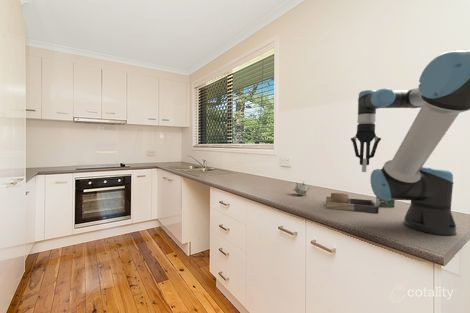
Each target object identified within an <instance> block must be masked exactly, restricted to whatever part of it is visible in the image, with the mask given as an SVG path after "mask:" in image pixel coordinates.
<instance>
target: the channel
mask: <svg viewBox="0 0 470 313" xmlns="http://www.w3.org/2000/svg"><path fill="white" fill-rule="evenodd" d="M325 202H326V209H332V210H343V211H352V212H362V213H369V214H379V210H380V209H379V208H380V207H378V206H377V205H376V202H374V200H373V199H362V198H361V199H360V198H351V197H348V204H346V203H336V202H331V196H328V195H327V196H326V197H325Z"/></svg>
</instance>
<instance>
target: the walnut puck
mask: <svg viewBox="0 0 470 313" xmlns="http://www.w3.org/2000/svg"><path fill="white" fill-rule="evenodd" d="M330 197H331V202H336V203H346V204H348V198H349V194H347V193H343V192H331V193H330Z"/></svg>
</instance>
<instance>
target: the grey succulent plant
mask: <svg viewBox="0 0 470 313" xmlns="http://www.w3.org/2000/svg"><path fill="white" fill-rule="evenodd" d="M309 189H310V187H308V186H307V185H306V184H305V182H302V183H296V186H295V188H294V189H292V191H295V193H296V194H297V195H298V197H300V196H305V197H306V196H307V193H308V190H309Z"/></svg>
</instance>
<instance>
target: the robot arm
mask: <svg viewBox="0 0 470 313" xmlns="http://www.w3.org/2000/svg"><path fill="white" fill-rule="evenodd" d="M418 82H419V84H418V87H416V88H413V89H402V90H400V89H398V90H397V89H395V90H394V89H393V90H392V88H391V89H390V88H386V87H385V88H380V89H377V90H375V89H366V90H362V91H360V92H359V93H358V98H357V120H356V121H357V125H356V133H355V136H353V137H350V141H351V142H352V145H353V149H354V154H355V157H356V158H359V165H360V166H361V172H362V173H367V166H369V164H370V159H373V158H374V157H375V154H376V151H377V148H378V145H379V142H381V140H382V138H381V137H378V136H377V134H376V118H377V117H376V115H377V113H376V112H377V109H418V108H419V111H418V113H417V115H416V117H415V119H414V120H413V122H412V123H411V126H410V127H409V129H408V131H407V133H406V134H405V136H404V138H403V140H402V142H401V143H400V145H399V147H398V149H397V151H395V152H396V153H395V154H394V155H393V157H392V159H390V160H387V161H386V162H384V164H383V166H382V168H381V169H379V168H376V169H373V170H372V172H371V173H370V186H371V190H372V192H373V194H374V195H375V196H377V197H378V198H379V199H385V200H395V201H410V204H409V205H410V206H409V207H408V210H407V211H406V213H405V216H404V218H403V224H404V225H406V226H407V227H408V228H411V229H414V230H416V231H419V232H423V233H427V234H428V233H429V234H433V235H440V236H453V235H455V234H457V225H456V222H455V220H454V215H453V214H452V199H453V198H452V197H453V189H454V175H453V172H451V171H449V170H447V169H439V168H431V167H424V165H425V163H427V161H428V159H429V157H430V156H431V155H432V153H433V152H434V150H435V149H436V147H437V146H438V145H439V143H440V142H441V140H442V139H443V137H444V136H445V135H446V133H447V132H448V130H449V129H450V127H451V126H452V125H453V123H454V122H455V120H456V119H457V117H458V116H459V114H460V113H464V112H467V111H470V49H461V50H456V51H455V50H452V51H447V52H444V53H441V54H440V55H438V56H436V57H435V58H433V59H432V60H430V62H429V63H428V64H427V65H426V66H425V67H424V69H423V70H422V72H421V74H420V77H419V80H418ZM357 140H358V141H359V144H360V145H359V147H360V148H359V149H358V145H357V144H358V143H357ZM373 140H374V143H373V146H372V148H371V142H372V141H373ZM365 145H366V146H365ZM364 152H365V158H364Z"/></svg>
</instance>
